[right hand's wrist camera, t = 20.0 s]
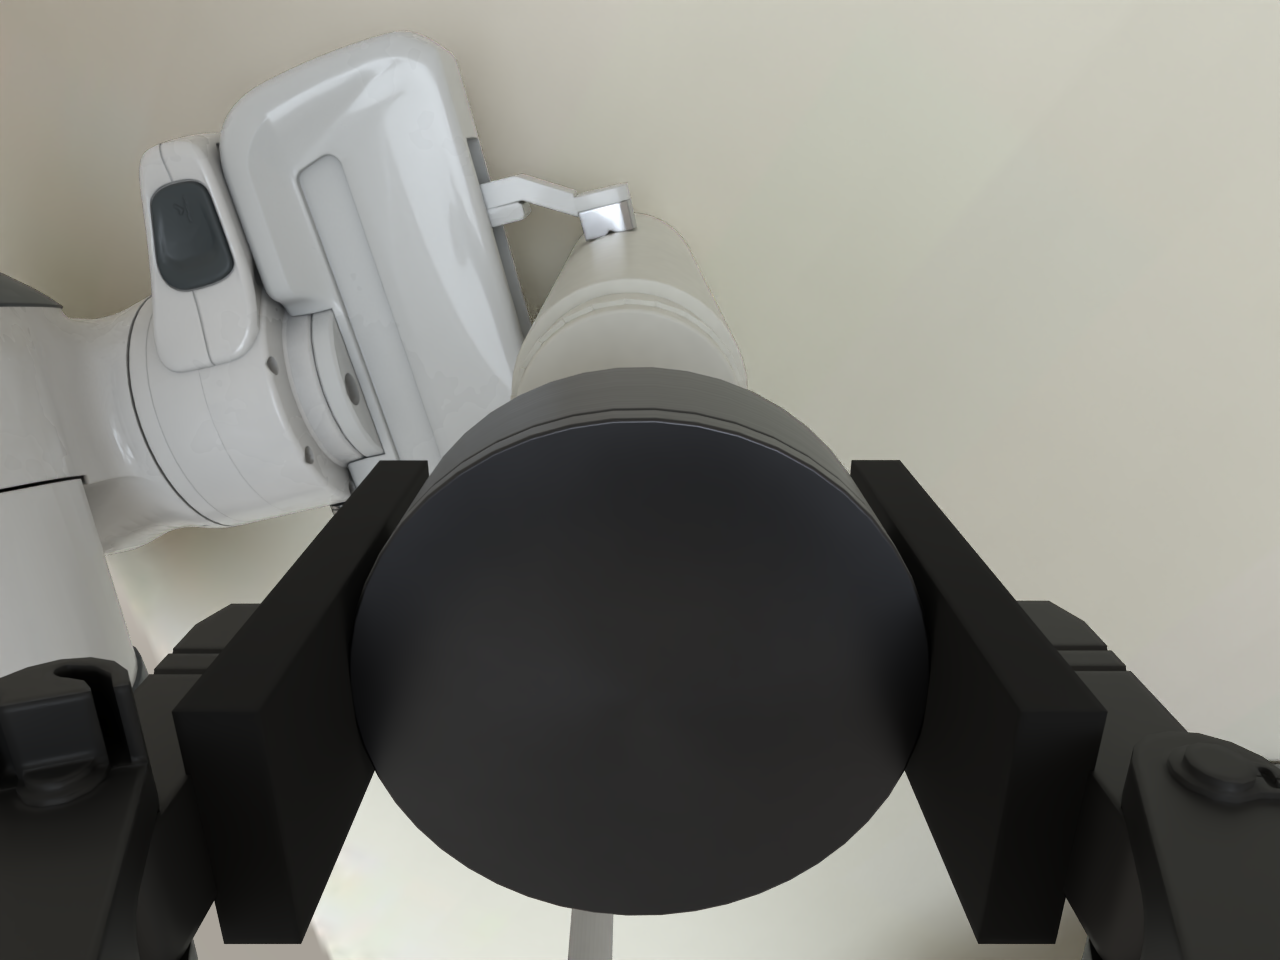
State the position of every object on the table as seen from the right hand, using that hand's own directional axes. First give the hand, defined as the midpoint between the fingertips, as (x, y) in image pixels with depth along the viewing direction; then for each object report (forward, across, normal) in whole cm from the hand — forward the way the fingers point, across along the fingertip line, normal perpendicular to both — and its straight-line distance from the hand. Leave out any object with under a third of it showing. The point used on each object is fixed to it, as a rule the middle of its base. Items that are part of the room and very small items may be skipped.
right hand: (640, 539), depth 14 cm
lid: (-4, 0, 0) cm, 4 cm away
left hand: (+18, 0, -1) cm, 18 cm away
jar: (+25, 0, -1) cm, 25 cm away
